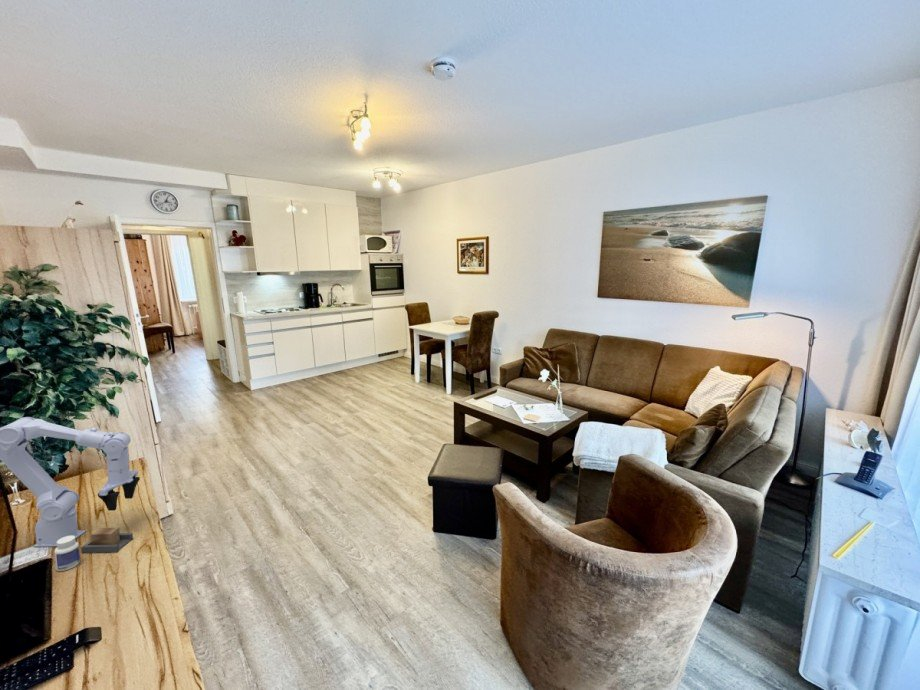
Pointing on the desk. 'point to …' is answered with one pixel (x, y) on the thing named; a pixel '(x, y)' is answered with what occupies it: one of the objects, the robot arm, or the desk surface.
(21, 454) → the robot arm
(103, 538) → the walnut block
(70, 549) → the pill bottle
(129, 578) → the desk surface
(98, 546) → the gray u-shaped channel bracket
